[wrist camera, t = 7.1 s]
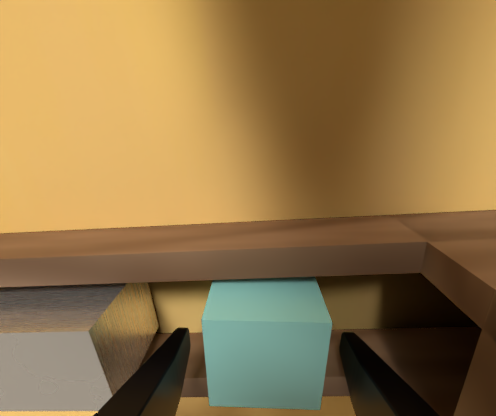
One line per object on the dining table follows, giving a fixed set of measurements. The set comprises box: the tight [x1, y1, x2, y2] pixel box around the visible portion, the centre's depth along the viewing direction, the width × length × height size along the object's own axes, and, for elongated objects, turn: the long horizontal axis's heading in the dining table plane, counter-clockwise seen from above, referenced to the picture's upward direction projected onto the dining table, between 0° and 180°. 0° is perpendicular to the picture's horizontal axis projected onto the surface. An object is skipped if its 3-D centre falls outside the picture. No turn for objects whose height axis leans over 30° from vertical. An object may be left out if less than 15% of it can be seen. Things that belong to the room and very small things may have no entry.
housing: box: [0, 210, 496, 416], centre depth 9 cm, size 7×30×6 cm, turn 94°
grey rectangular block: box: [0, 282, 159, 411], centre depth 10 cm, size 4×9×4 cm, turn 94°
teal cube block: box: [202, 277, 332, 410], centre depth 10 cm, size 4×4×4 cm
